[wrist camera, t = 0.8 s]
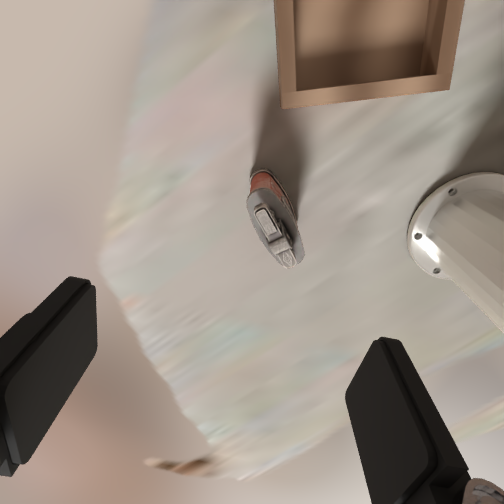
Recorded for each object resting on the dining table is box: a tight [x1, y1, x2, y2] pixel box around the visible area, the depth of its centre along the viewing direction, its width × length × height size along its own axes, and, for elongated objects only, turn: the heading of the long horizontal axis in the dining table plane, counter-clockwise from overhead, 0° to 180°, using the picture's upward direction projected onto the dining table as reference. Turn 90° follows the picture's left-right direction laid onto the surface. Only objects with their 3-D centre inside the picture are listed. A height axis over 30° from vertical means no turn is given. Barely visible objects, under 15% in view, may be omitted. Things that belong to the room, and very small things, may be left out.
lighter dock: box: [274, 0, 465, 109], centre depth 25 cm, size 13×9×4 cm
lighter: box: [247, 168, 305, 268], centre depth 30 cm, size 8×3×10 cm, turn 29°
